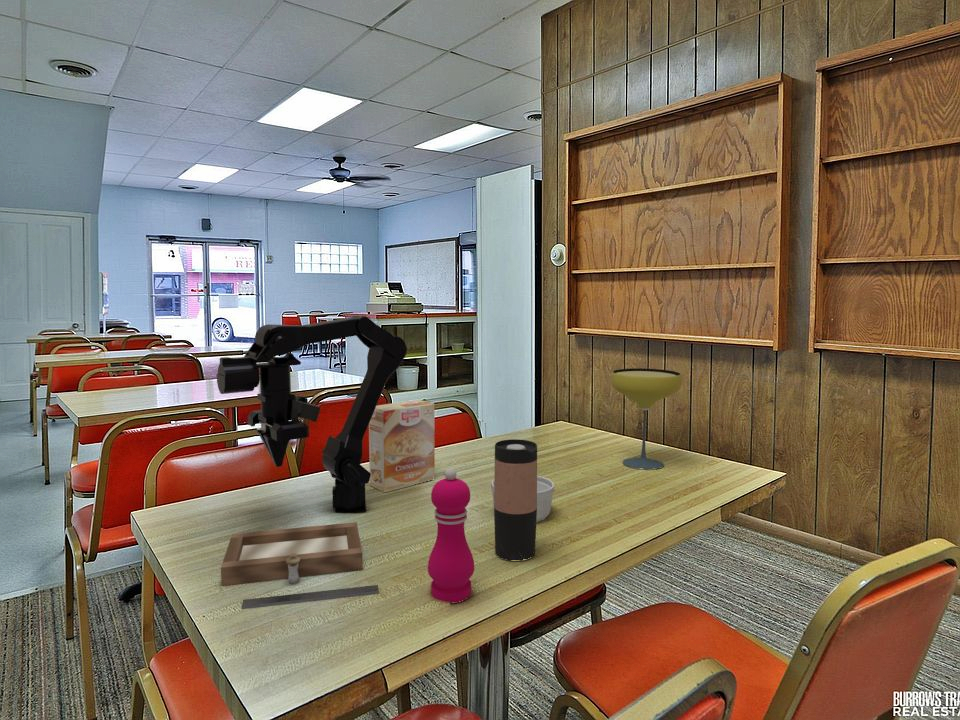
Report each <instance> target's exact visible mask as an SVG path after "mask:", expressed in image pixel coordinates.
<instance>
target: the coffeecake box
mask: <svg viewBox="0 0 960 720" xmlns="http://www.w3.org/2000/svg"><path fill="white" fill-rule="evenodd" d="M435 429H436V428H435V403H434V402H431V401H426V400H422V399H415V400H408V401H400V402H393V403H385V404H379V405H378V404H377V406H376V408H375V410H374V413H373V415H372V418H371V420H370V422H369V425H368V442H369V443H368V447H369V448H368V450H369V451H368V453H369V456H368V457H369V463H368V464H369V465H368V466H369V472H370V473H371V476H370V479H369V486H370V487H373V488H375V489H377V490H378V491H380V492H383V493H388V492H392V491H395V490H400V489H403V488H408V487H411V486H415V484H416V485H419V483H420V484H424V483H427V482H426V481H428V482H430V480H432V481H434V480H433V479H435V478H436V476H435V475H436V474H435V469H436V468H435V464H436V461H435V459H436V458H435V457H436V454H435V448H436V447H435V444H436V443H435ZM423 482H424V483H423Z"/></svg>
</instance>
